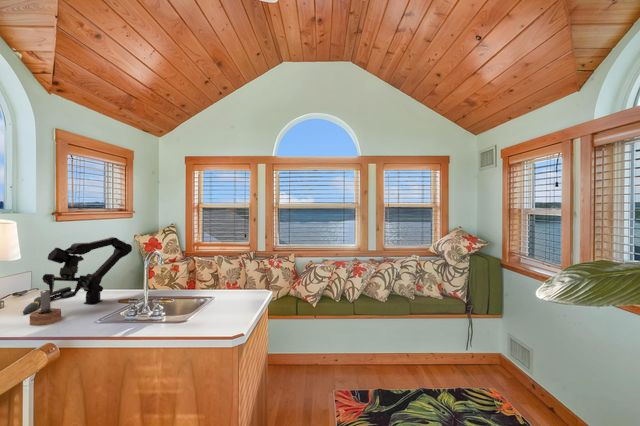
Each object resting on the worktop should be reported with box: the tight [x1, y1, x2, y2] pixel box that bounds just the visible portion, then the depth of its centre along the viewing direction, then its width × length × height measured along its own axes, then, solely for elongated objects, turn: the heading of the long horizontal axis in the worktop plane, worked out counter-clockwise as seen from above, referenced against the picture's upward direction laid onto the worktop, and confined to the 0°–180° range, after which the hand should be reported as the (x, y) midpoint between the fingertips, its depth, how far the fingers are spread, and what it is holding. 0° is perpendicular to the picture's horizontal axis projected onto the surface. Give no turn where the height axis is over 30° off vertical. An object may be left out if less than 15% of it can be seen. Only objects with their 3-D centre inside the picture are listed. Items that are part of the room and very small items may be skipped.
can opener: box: [50, 286, 74, 302], centre depth 188 cm, size 18×7×6 cm, turn 162°
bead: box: [29, 307, 62, 326], centre depth 155 cm, size 11×11×4 cm
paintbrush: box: [22, 296, 41, 315], centre depth 172 cm, size 20×5×5 cm, turn 22°
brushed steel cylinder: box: [40, 289, 52, 314], centre depth 155 cm, size 4×4×14 cm
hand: (62, 295), depth 163 cm, fingers open, 9 cm apart
